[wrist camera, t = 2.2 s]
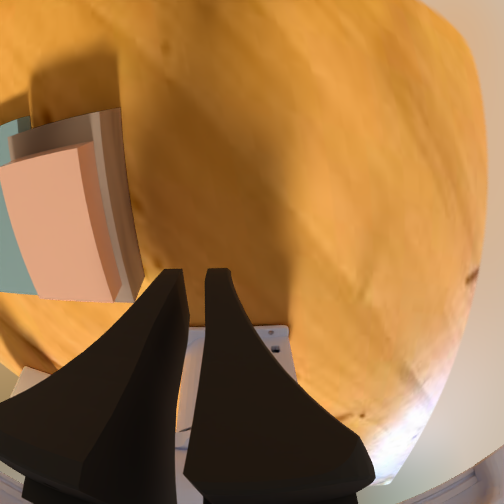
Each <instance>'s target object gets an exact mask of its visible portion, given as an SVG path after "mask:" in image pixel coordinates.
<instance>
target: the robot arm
mask: <svg viewBox="0 0 504 504" xmlns="http://www.w3.org/2000/svg"><path fill="white" fill-rule="evenodd" d="M189 319H190V314H189V308H188V302H187V296H186V290H185V283H184V277H183V270H182V269H164V270H163V271H162V272H161V273H160V274H159V275H158V276H157V278H156V279H155V280H154V281H153V282H152V283H151V284H150V286H149V287H148V288H147V289H146V290H145V291H144V293H143V294H142V295H141V296H140V297H139V298H138V299H137V300H136V301H135V303H134V304H133V305H132V306H131V307H130V308H129V309H128V310H127V311H126V312H125V313H124V314H123V316H122V317H121V318H120V319H119V320H118V321H117V322H116V323H115V324H114V325H113V326H112V327H111V328H110V329H109V330H108V331H107V332H106V333H104V334H103V335H102V336H101V337H100V338H99V339H98V340H97V341H95V342H94V343H93V344H92V345H91V346H90V347H88V348H87V349H86V350H85V351H84V352H82V353H81V354H80V355H78V356H77V357H76V358H74V359H73V360H72V361H70V362H69V363H68V364H66V365H65V366H64V367H62V368H61V369H59V370H58V371H57V372H55V373H53V374H52V375H50V376H49V377H47V378H46V379H44V380H43V381H41V382H39V383H38V384H36V385H34V386H32V387H31V388H29V389H27V390H25V391H23V392H21V393H19V394H17V395H15V396H13V397H11V398H9V399H7V400H5V401H3V402H1V403H0V461H2V462H3V463H5V464H7V465H8V466H9V467H11V468H13V469H14V470H16V471H17V472H19V473H21V474H23V475H24V476H25V481H24V484H22V483H20V482H18V481H16V480H14V479H13V478H11V477H9V476H7V475H5V474H4V473H2V472H0V504H358V501H357V496H356V492H358V491H360V490H362V489H363V488H365V487H367V486H368V485H370V484H371V483H372V482H373V481H374V479H375V478H376V477H375V471H374V467H373V464H372V461H371V459H370V457H369V455H368V452H367V450H366V448H365V446H364V444H363V442H362V440H361V439H360V437H359V436H358V435H357V434H356V433H354V432H353V431H352V430H350V429H349V428H348V427H346V426H345V425H344V424H342V423H341V422H340V421H338V420H337V419H336V418H335V417H333V416H332V415H331V414H330V413H329V412H327V411H326V410H325V409H324V408H323V407H322V406H320V405H319V404H318V403H317V402H316V401H315V400H314V399H313V398H312V397H311V396H309V395H308V394H307V393H306V391H305V390H304V389H303V388H302V387H301V386H300V385H299V384H298V383H297V377H296V372H295V367H294V362H293V357H292V352H291V347H290V342H289V338H288V335H289V329H288V326H286V325H274V326H253V325H252V323H251V322H250V320H249V318H248V316H247V314H246V312H245V310H244V308H243V306H242V304H241V302H240V300H239V298H238V296H237V293H236V291H235V288H234V285H233V282H232V278H231V271H230V270H229V269H228V268H209V269H208V270H207V274H206V278H205V327H189ZM270 331H271V332H270ZM182 371H183V373H182ZM181 376H182V382H181ZM180 382H181V390H180V399H179V409H178V419H177V430H176V432H175V427H176V408H177V399H178V393H179V387H180ZM397 504H504V445H503V446H501V447H500V448H499V449H497V450H496V451H494V452H493V453H491V454H490V455H489V456H487V457H486V458H484V459H483V460H481V461H480V462H478V463H477V464H475V465H474V466H473V467H471V468H469V469H468V470H466V471H464V472H463V473H461V474H459V475H457V476H455V477H454V478H452V479H450V480H448V481H447V482H445V483H443V484H441V485H439V486H437V487H435V488H433V489H430V490H428V491H426V492H424V493H422V494H419V495H417V496H415V497H412V498H410V499H408V500H405V501H402V502H400V503H397Z"/></svg>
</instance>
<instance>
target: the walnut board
mask: <svg viewBox="0 0 504 504" xmlns="http://www.w3.org/2000/svg"><path fill="white" fill-rule="evenodd" d="M7 138H8V145H9V152H10V159H11V161H12V160H14V159H17V158H20V157H24V156H28V155H31V154H35V153H39V152H43V151H47V150H51V149H56V148H60V147H64V146H69V145H74V144H79V143H84V142H90V141H94V150H95V158H96V166H97V172H98V179H99V185H100V191H101V197H102V202H103V207H104V212H105V217H106V222H107V227H108V231H109V236H110V240H111V244H112V248H113V252H114V256H115V260H116V264H117V268H118V271H119V275H120V278H121V282H122V286H121V288H120V290H119V292H118V295H117V297H116V299H115V301H114V302H127V303H135V300H136V297H137V295H138V292H139V290H140V287H141V285H142V282H143V280H144V277H145V275H144V270H143V266H142V261H141V257H140V252H139V247H138V242H137V237H136V231H135V226H134V220H133V215H132V209H131V202H130V196H129V189H128V182H127V174H126V166H125V157H124V147H123V137H122V124H121V109H120V108H114V109H109V110H104V111H99V112H94V113H89V114H85V115H80V116H76V117H72V118H68V119H64V120H60V121H57V122H53V123H50V124H46V125H43V126H39V127H36V128H33V129H30V130H27V131H24V132H21V133H18V134H15V135H12V136H10V137H7Z"/></svg>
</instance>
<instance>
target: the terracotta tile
mask: <svg viewBox="0 0 504 504" xmlns="http://www.w3.org/2000/svg"><path fill="white" fill-rule="evenodd" d="M0 182H1V186H2V191H3V195H4V199H5V203H6V207H7V211H8V214H9V218H10V221H11V224H12V228H13V231H14V234H15V237H16V240H17V243H18V246H19V249H20V252H21V254H22V257H23V260H24V262H25V265H26V268H27V270H28V273H29V275H30V277H31V280H32V282H33V284H34V287H35V289H36V291H37V293H38V296H39V298H40V299H51V300H66V301H83V302H104V303H114V301H115V299H116V297H117V295H118V292H119V290H120V288H121V286H122V282H121V278H120V275H119V271H118V268H117V264H116V260H115V256H114V252H113V248H112V244H111V240H110V236H109V231H108V227H107V222H106V217H105V212H104V207H103V202H102V197H101V191H100V185H99V179H98V172H97V166H96V158H95V150H94V141H90V142H84V143H79V144H74V145H69V146H64V147H60V148H56V149H51V150H47V151H43V152H39V153H35V154H31V155H28V156H24V157H20V158H17V159H14V160H12V161H10V162H8V163H6V164H4V165H2V166H0Z"/></svg>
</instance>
